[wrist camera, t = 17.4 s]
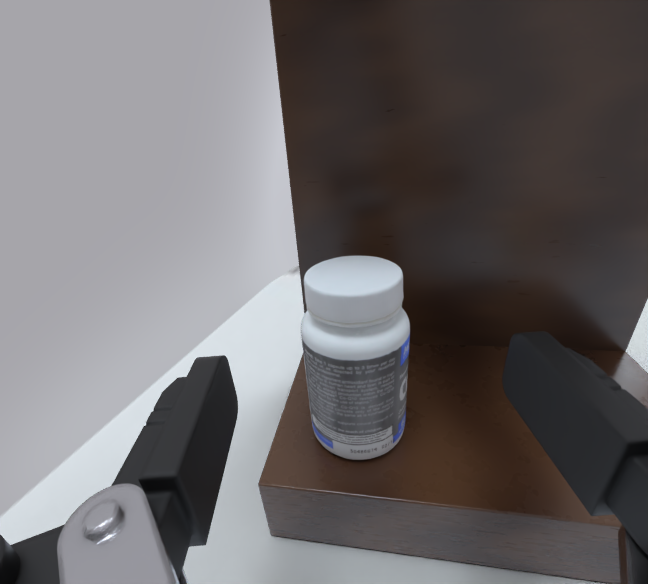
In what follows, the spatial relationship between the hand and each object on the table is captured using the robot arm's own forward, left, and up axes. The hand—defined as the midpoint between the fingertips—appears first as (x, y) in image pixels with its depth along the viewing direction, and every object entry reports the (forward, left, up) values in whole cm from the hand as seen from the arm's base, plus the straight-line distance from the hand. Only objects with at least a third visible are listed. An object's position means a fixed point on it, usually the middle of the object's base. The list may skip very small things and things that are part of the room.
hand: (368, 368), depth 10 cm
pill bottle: (-1, +5, -8) cm, 9 cm away
